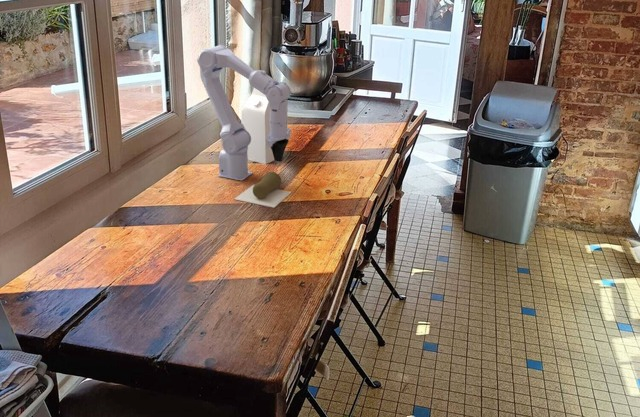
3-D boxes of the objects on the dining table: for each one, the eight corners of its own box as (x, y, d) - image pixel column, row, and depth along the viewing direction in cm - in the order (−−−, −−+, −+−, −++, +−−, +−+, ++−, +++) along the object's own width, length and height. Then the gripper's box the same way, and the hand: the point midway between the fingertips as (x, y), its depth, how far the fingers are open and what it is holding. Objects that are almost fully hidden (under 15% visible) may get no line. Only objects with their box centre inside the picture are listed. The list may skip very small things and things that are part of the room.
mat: (234, 199, 196) (234, 198, 195) (253, 185, 207) (253, 184, 206) (274, 207, 191) (274, 207, 191) (291, 192, 202) (291, 191, 202)
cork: (282, 189, 203) (268, 201, 194) (266, 188, 206) (251, 201, 196) (279, 171, 201) (265, 184, 192) (263, 171, 203) (248, 183, 194)
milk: (284, 155, 234) (284, 87, 223) (265, 164, 225) (265, 94, 214) (258, 149, 240) (258, 82, 229) (239, 157, 231) (238, 88, 220)
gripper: (279, 129, 192) (279, 169, 197) (299, 117, 204) (298, 156, 209) (259, 125, 194) (260, 166, 200) (279, 114, 206) (279, 152, 212)
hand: (278, 160), depth 205 cm, fingers closed
